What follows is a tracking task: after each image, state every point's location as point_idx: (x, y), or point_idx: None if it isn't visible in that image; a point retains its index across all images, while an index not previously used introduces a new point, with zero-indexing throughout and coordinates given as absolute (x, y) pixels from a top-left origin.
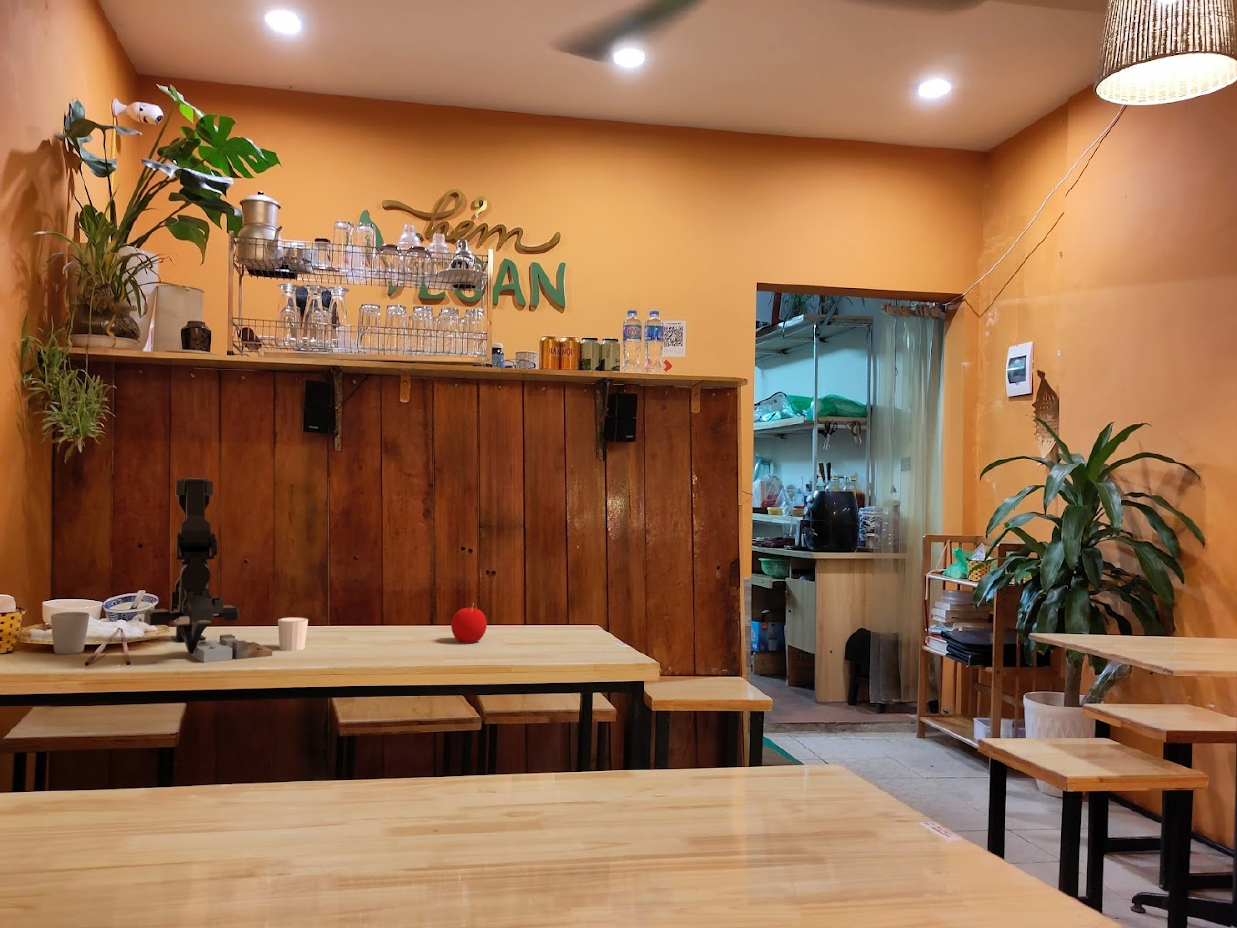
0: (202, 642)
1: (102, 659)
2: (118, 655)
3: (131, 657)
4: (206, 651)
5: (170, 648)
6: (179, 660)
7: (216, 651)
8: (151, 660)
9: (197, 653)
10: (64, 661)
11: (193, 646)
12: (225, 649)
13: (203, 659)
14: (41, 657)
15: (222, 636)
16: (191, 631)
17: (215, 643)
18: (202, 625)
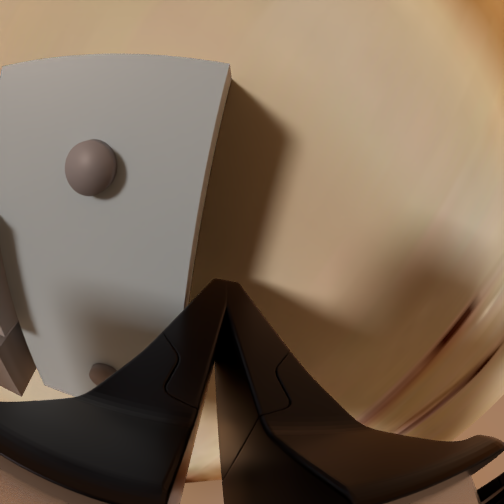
0: (111, 372)
1: (432, 398)
2: (374, 426)
3: (379, 399)
4: (206, 60)
5: (202, 443)
6: (310, 258)
7: (112, 57)
8: (388, 333)
9: (194, 252)
10: (469, 399)
11: (217, 302)
12: (42, 59)
13: (227, 89)
14: (446, 433)
15: (6, 368)
16: (264, 423)
17: (44, 321)
18: (81, 456)
